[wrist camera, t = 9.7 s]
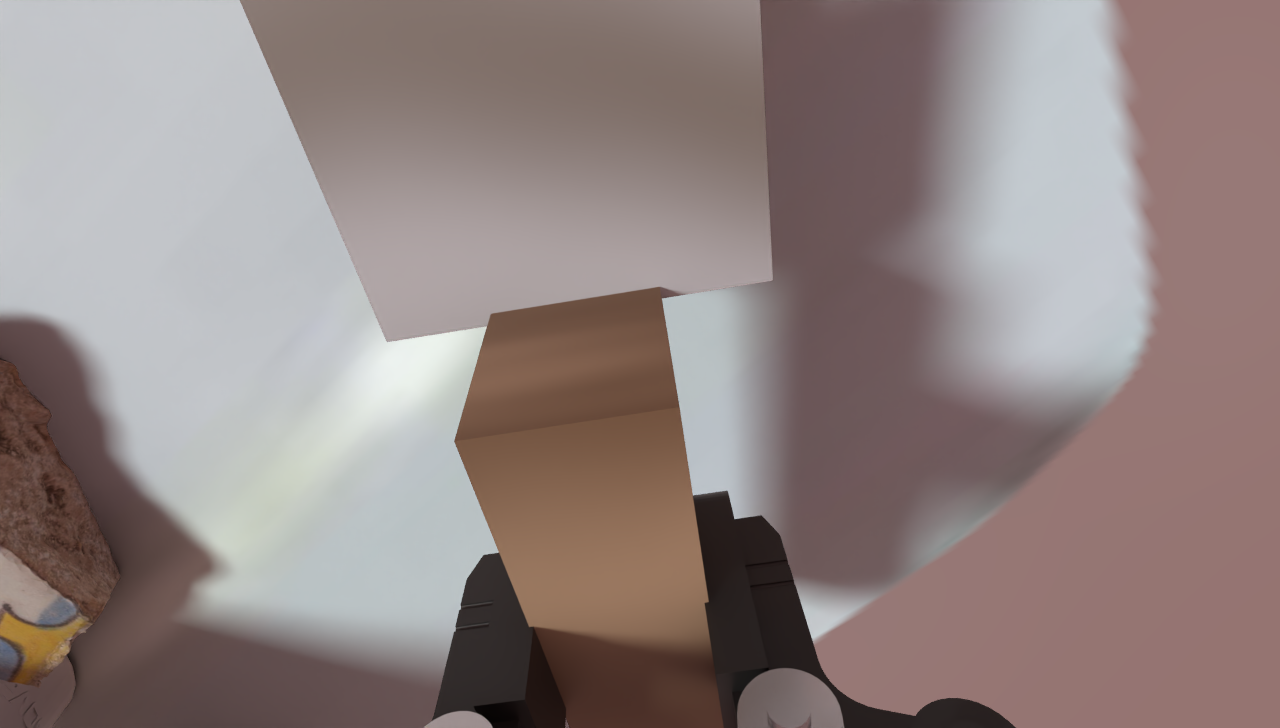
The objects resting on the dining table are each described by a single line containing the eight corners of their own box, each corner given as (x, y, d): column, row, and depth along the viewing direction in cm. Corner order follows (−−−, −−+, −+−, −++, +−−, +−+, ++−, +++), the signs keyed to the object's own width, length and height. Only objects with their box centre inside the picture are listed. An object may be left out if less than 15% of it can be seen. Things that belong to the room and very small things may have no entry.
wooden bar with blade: (786, 679, 17) (826, 841, 14) (557, 710, 17) (547, 875, 14) (737, -260, 7) (835, -397, 4) (199, -156, 7) (-75, -211, 4)
